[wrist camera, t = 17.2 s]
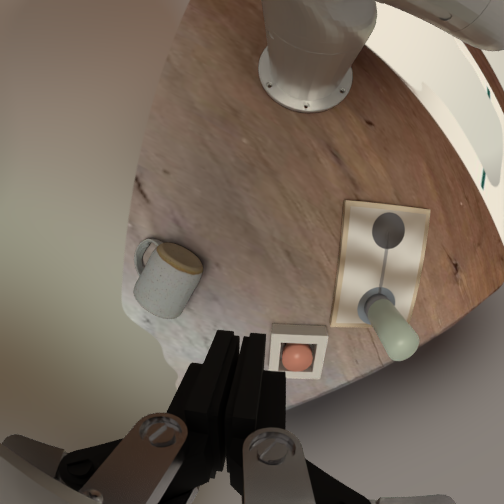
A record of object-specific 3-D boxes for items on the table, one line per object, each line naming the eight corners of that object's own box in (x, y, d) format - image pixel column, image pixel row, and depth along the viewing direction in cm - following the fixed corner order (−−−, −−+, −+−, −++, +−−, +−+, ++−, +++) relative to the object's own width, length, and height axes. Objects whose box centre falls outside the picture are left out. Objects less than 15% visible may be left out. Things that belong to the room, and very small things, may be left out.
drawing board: (343, 199, 36) (345, 200, 34) (426, 208, 34) (430, 210, 33) (329, 322, 40) (330, 327, 39) (405, 323, 39) (409, 326, 38)
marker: (366, 293, 37) (392, 331, 26) (391, 293, 37) (423, 330, 26) (361, 318, 38) (383, 361, 27) (386, 318, 38) (413, 359, 27)
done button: (283, 339, 40) (283, 347, 38) (313, 340, 39) (314, 348, 37) (281, 363, 41) (280, 371, 39) (309, 364, 40) (310, 372, 39)
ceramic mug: (212, 261, 39) (196, 279, 32) (188, 305, 42) (169, 329, 34) (151, 223, 39) (124, 232, 32) (132, 268, 41) (105, 284, 34)
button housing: (272, 323, 41) (271, 333, 38) (325, 325, 40) (328, 335, 37) (269, 365, 43) (268, 377, 40) (318, 367, 42) (319, 379, 39)
